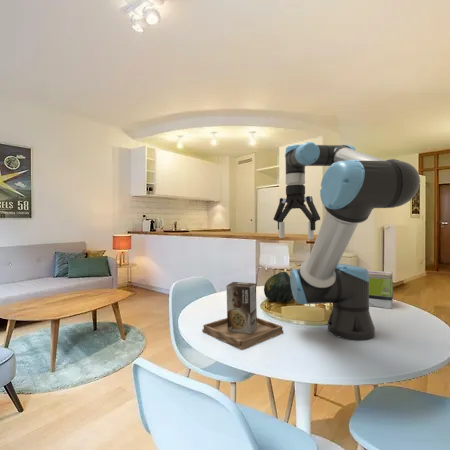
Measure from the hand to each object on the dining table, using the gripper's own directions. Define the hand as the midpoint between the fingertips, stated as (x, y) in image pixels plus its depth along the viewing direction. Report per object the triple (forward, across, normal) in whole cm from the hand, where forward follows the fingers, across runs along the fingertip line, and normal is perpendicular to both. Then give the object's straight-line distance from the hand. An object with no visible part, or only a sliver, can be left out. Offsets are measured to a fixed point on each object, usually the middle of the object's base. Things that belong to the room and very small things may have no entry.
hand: (295, 238), depth 120 cm
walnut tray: (+32, +4, +27) cm, 42 cm away
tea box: (+32, -14, -40) cm, 53 cm away
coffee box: (+31, +4, +27) cm, 41 cm away
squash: (+32, +20, -16) cm, 40 cm away
